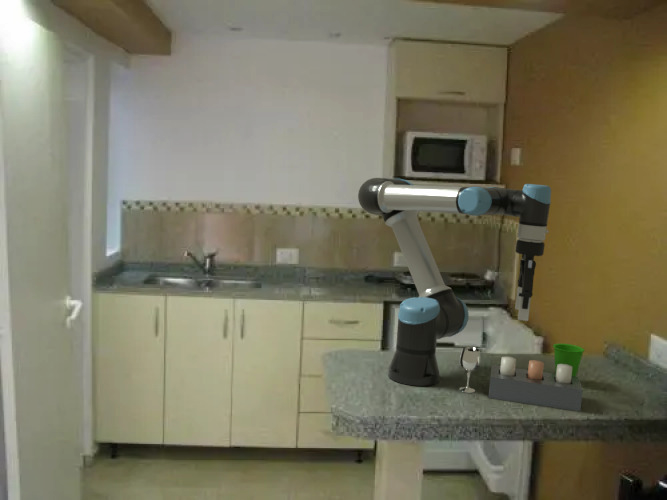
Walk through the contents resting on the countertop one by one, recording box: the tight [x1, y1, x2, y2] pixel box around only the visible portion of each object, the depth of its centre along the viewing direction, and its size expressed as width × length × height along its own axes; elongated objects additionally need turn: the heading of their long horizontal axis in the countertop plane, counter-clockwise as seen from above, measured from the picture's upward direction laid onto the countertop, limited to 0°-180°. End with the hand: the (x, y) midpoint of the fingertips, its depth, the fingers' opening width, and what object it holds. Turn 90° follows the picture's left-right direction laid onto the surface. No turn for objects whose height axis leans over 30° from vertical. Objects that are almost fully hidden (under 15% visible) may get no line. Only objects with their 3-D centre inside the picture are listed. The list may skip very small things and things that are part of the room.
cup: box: [552, 343, 585, 377], centre depth 197 cm, size 9×9×11 cm
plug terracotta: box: [527, 359, 545, 380], centre depth 182 cm, size 4×4×7 cm
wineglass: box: [459, 346, 481, 394], centre depth 184 cm, size 6×6×12 cm
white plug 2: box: [555, 364, 572, 384], centre depth 180 cm, size 4×4×7 cm
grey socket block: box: [488, 364, 584, 412], centre depth 182 cm, size 24×12×6 cm, turn 75°
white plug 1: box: [500, 356, 517, 376], centre depth 183 cm, size 4×4×7 cm
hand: (521, 314), depth 183 cm, fingers open, 13 cm apart
